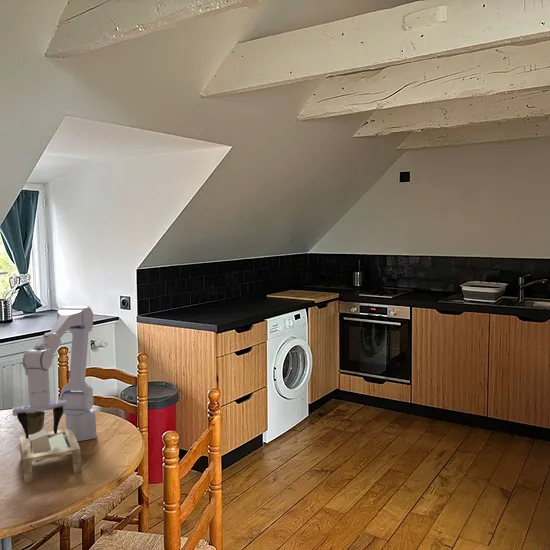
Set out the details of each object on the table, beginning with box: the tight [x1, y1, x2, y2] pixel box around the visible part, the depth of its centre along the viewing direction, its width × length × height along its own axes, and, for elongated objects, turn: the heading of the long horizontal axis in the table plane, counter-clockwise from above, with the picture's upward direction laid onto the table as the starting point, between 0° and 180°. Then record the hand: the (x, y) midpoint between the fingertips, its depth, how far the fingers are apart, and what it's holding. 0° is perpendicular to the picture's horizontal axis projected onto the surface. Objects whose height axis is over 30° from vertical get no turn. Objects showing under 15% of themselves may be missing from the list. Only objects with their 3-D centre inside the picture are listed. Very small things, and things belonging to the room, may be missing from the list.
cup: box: [26, 410, 46, 435], centre depth 190 cm, size 8×7×8 cm
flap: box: [31, 433, 70, 463], centre depth 169 cm, size 10×12×3 cm
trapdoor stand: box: [19, 428, 82, 484], centre depth 168 cm, size 15×18×7 cm
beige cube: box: [30, 429, 51, 454], centre depth 167 cm, size 4×4×4 cm
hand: (41, 434), depth 167 cm, fingers open, 7 cm apart
